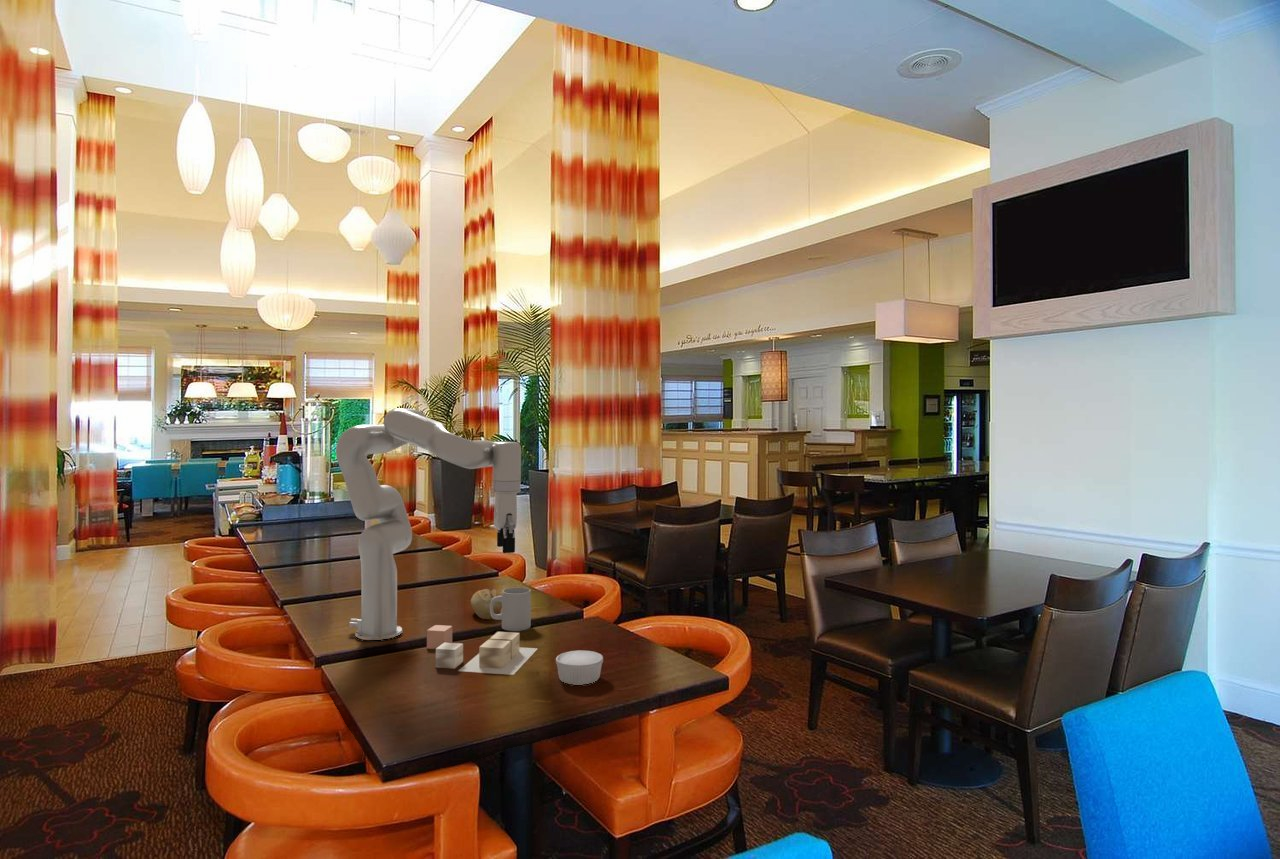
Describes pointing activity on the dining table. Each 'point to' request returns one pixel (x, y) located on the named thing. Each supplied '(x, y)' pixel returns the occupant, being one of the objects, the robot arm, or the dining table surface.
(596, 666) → the ramekin
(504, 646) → the maple block
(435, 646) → the terracotta cube
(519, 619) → the mug
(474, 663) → the felt mat
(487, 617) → the bread roll
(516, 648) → the maple block
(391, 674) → the dining table surface
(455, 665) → the birch cube
